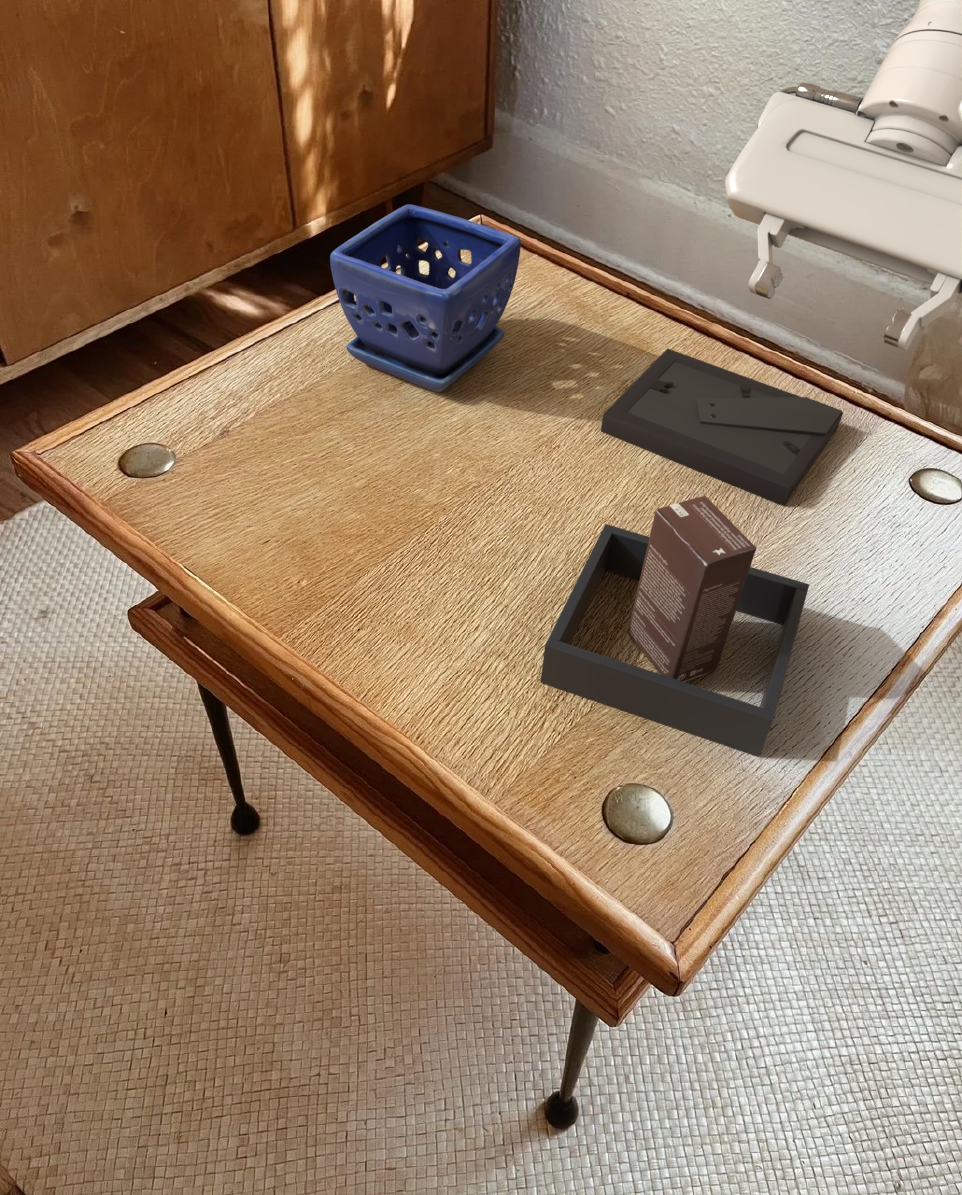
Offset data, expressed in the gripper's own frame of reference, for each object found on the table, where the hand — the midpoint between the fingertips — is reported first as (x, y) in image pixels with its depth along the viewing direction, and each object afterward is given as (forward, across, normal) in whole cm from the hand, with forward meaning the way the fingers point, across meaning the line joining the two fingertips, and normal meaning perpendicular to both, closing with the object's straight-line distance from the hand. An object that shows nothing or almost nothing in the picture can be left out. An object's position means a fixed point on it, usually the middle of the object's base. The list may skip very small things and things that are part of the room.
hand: (824, 318), depth 66 cm
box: (+24, 0, +7) cm, 25 cm away
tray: (+24, 0, +7) cm, 25 cm away
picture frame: (+6, -10, +25) cm, 28 cm away
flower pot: (+12, -38, +20) cm, 44 cm away
